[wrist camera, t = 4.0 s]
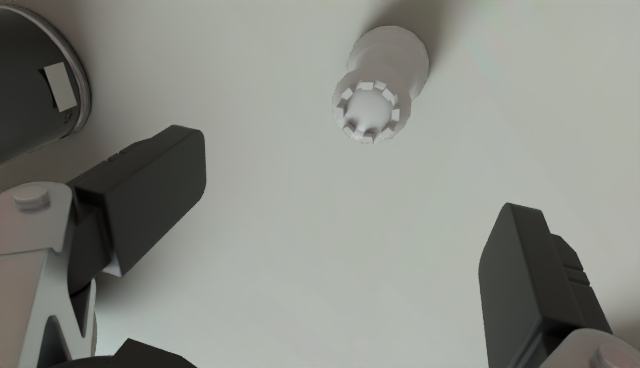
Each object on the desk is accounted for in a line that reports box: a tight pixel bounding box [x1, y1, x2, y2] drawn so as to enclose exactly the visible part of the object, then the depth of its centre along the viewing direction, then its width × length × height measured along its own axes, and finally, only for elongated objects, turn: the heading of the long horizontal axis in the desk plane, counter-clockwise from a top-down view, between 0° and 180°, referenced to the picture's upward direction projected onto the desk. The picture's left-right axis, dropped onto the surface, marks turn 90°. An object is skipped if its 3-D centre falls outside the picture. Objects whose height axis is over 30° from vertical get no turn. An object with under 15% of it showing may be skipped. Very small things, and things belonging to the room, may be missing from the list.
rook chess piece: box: [332, 26, 429, 144], centre depth 19 cm, size 4×4×8 cm
